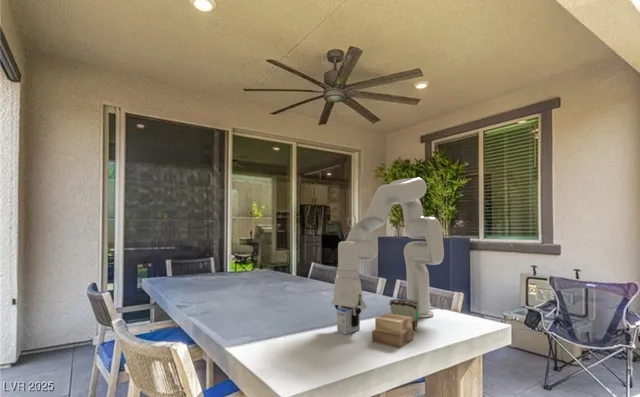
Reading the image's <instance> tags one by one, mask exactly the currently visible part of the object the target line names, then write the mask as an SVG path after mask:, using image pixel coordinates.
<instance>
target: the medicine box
mask: <svg viewBox="0 0 640 397" xmlns="http://www.w3.org/2000/svg"><path fill="white" fill-rule="evenodd" d="M358 307H359V308H360V307H361V306H358ZM360 315H361V313H360V314H359V315H358V320H359V323H358V326H355V327H352V316H353V311H352V308H350V307H340V308H337V309H336V319H337V320H336V328H337V329H336V331H337V333H339V334H343V335H348V334H351V333H354V332H357V331H359V330H361V329H360V328H361V325H360V324H361V323H360V322H361V320H360V319H361V316H360Z"/></svg>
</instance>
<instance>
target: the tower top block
mask: <svg viewBox="0 0 640 397" xmlns="http://www.w3.org/2000/svg"><path fill="white" fill-rule="evenodd" d="M374 320H375V322H374V324H375V326H374V328H375V329H374V330H377V331H381V332H386V333H391V334H396V335H402V334H404V333H406V332H408V331H410V330H412V317H408V316H402V315H397V314H392V313H390V312H389V313H385V314H383V315H380V316H378V317H377V316H376V317H375V318H374Z"/></svg>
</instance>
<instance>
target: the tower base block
mask: <svg viewBox="0 0 640 397" xmlns="http://www.w3.org/2000/svg"><path fill="white" fill-rule="evenodd" d="M371 339H372V340H371V341H372V343H376V344H379V345H380V344H381V345H384V346H390V347H393V348H397V349H401V348H403V347H405V346H406V345H408V344H410V343H411V342H413V341H414V331H413V329H412V330H410V331H408V332H406V333H404V334H402V335H396V334H391V333H386V332H381V331H377V330H375V329H372V332H371Z"/></svg>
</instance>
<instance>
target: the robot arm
mask: <svg viewBox="0 0 640 397" xmlns="http://www.w3.org/2000/svg"><path fill="white" fill-rule="evenodd" d="M427 190H428V188H427V183H426V181H425V180H424V179H422V178H421V177H410V178H401V179H398V180H396V179H395V180H393V181H391V182H390V183H389V184H388V183H387V184H382V185H380V186H378V188H377V189H376V191H375V193H374V196H373V198H372V200H371V203H370V204H369V207H368V209H367V212H366V214H365V215H364V216H363V217H361V218H360V219H359V220H358V221H357V222H356V223H355V224H354V225H353V226H352V228H351V229H350V230H349V233H348V235H347V236H346V239H345V240H343V241H342V240H341V241H340V242H338V244H337V245H338V246H337V257H338V258H337V259H338V260H337V269H338V270H336V271H335V274H336V275H337V277H336V279H335V281H334V282H335V283H334V290H333V299H332V300H331V304H332V305H333V306H334V308H335V309H336V310H337V308H340V307H350V308H352V311H353V316H352V327H355V326H358V323H359V320H358V315H359V314H360V315H361V313H362V312H363V311H364V310H366V308H367V305H366V304H365V301H364V300H363V289H362V284H361V278H359V261H361V260H362V261H371V260H374V259H375V258H376V257H377V256H378V253H379V248H378V245H377V243H375V242H374V241H372V240H367V239H366V240H365V239H364V238H365V237H366V236H367V235H369V233H371V232H373V231H374V230H376V229H378V228H381V227H383V226H384V225H385V224H386V223H387V221H388V218H389V215H390V213H391V211H392V208H393V206H395V205H400V206H401V209H402V214H403V222H404V223H403V224H404V232H405V235H406V236H407V237H408V239H409V238H410V239H416V240H418V241H411V242H407V243H406V245H405V246H404V248H403V256H404V257H403V258H404V261H405V267H406V268H405V269H406V270H405V271H406V299H408V300H414V301H417V302H418V303H419V305H420V310H418V318H424V319H425V318H431V317H434V315H435V314H434V311H432V310H430V309H431V308H430V307H431V306H432V304H431V302H430V273H429V269H428V268H427V266H426V265H430V266H432V265H433V266H435V265H440V264H441V263H442V262H443V260H444V257H445V248H444V240H443V239H444V237H443V229H442V225H441V223H440V220H439V219H437V218H436V217H434V216H424V210H423V205H422V202H421V200H420V199H422V198H423V197H424V196H425V194H426V193H427ZM419 240H425V241H419ZM359 307H360V308H359Z"/></svg>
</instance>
